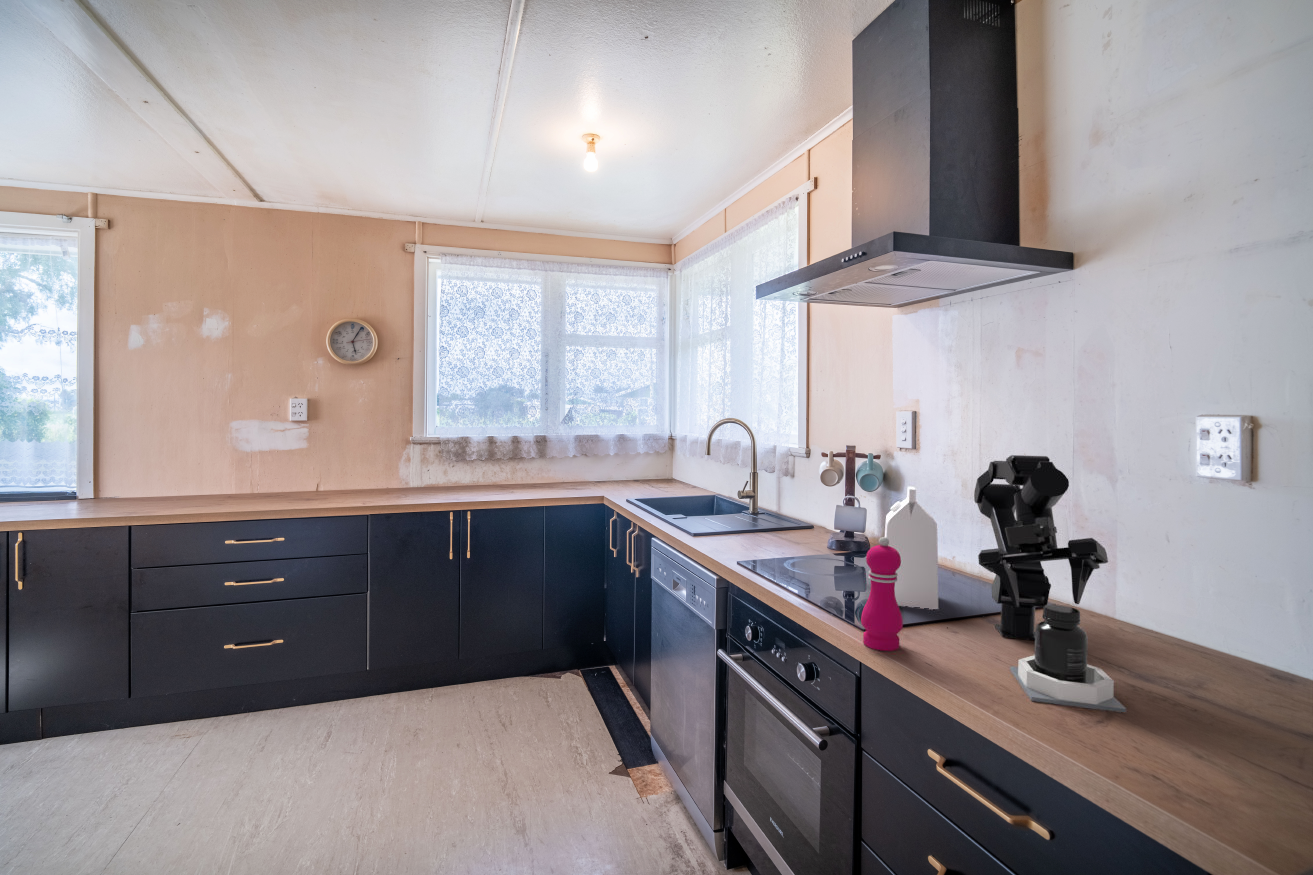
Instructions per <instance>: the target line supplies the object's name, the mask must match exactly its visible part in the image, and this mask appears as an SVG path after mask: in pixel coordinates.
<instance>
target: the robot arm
mask: <svg viewBox="0 0 1313 875" xmlns="http://www.w3.org/2000/svg"><path fill="white" fill-rule="evenodd" d="M994 480H1005V482H1006V483H993V482H994ZM1007 483H1008V484H1007ZM1021 486H1022V488H1021ZM974 487H975V488H974V492H973V500H974V502H975V504H977V507H978V510H979V512H980V514H982V515H984V516H985V517H986V518H988V519H990V522H991V527H992V531H993V533H994V538H995V541H996V545H997V548H996V547H995V548H989V549H981V550H980V552H979V554H978V565H979V566H981V567H982V568H984V569H986V570H987V571H989V572H990V573H994V574H995V576H994V579H993V582H992V585H991V588H990V589H991V598H992V599H993V601H994V602H996V604H998V605H1000V604H1001V607H1000V608H1001V609H1000V624H999V623H996V624H994V627H995V629H996V630H997V631H998V632H999V634H1000V635H1001V636H1002V637H1003V638H1011V639H1020V640H1021V639H1022V640H1029V641H1030V640H1033V641H1035V627H1036V626H1035V624H1036V620H1035V619H1036V607H1037V608H1043V606H1045V605H1048V602H1049V597H1050V591H1051V588H1052V584H1051V583H1050V580H1049V578H1048V575H1046V574H1045V569H1044V567H1043V566H1042V562H1049V561H1060V560H1068V563H1069V567H1070V570H1071V571H1070V572H1071V574H1070V575H1071V591H1072V598H1073V602H1074V604H1076V605H1080V603H1081V600H1082V596H1083V595H1084V592H1085V588H1086V586H1087V583H1088V581H1089V579H1090V577H1091V576H1092V573H1093V572H1094V570H1099V569H1100V565H1103V564H1107V563H1109V560H1108V555H1107V551H1106V549H1105V547H1104V546H1103V545H1102V544H1101V543H1099V541H1097V540H1096V539H1094V538H1093V537H1087V538H1080V539H1079V538H1077V539H1071V540H1070V539H1069V540H1068V543H1067V547H1058V542H1057V533H1058V530H1057V526H1055V520H1054V516H1053V507H1054V506H1056V505H1057V504H1058V502H1059V501H1060V500H1061V499H1062V497H1063V496H1064V494H1065V493H1066V492H1067V491H1068V489H1069V487H1070V481H1069V478H1068V477H1067V475H1066V474H1064V472H1063V471H1061V470H1060V469H1058V468H1057V467H1056V466H1055V464H1054V463H1053V461H1051V459H1050V458H1049V457H1048V456H1046V455H1021V454H1020V455H1017V454H1016V455H1015V454H1014V455H1013V454H1011V455H1009V456H1008V457H1006V458H1005V460H994V461H990V462H989V465H988V469H987V470H985V471H984V472H983V473H982V474H981V475H980V476H979V477H977V479H976V483H975V486H974Z"/></svg>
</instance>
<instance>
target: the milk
mask: <svg viewBox="0 0 1313 875" xmlns="http://www.w3.org/2000/svg"><path fill="white" fill-rule="evenodd" d="M916 497H917V489H916V488H915V487H914V486H907V492H906V498H905V499H904V500H902V501H900V500H898V501H896V502H895V503H894V504H893V505H892V506H891V507H890V511H889V512H887V514H886V515H885V527H884V537H886V538H887V539H888V540H889V544H888V546H890V547H893V548H894V549H896V550H897V551H898V553H899V554H900V557H901V565H900V567H899V568H898V569H897V570H896V573H897V574H898V576H897V581H896V582H895V588H894V589H895V598H896V602H897V604H898V607H905V606H908V607H907V608H914V607H920V608H919V609H924V608H929V609H928V610H933V609H938V610H939V572H938V571H939V566H938V562H939V561H938V560H939V558H938V557H939V556H938V549H939V548H938V524H937V521H935V519H934V517H932V516H931V515H930V513H928V512H927V511H926V509H925V508H923V506H922V505H921V504H919V503H918V501H917V500H916V499H917V498H916Z"/></svg>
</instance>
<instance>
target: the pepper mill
mask: <svg viewBox="0 0 1313 875" xmlns="http://www.w3.org/2000/svg"><path fill="white" fill-rule="evenodd" d="M878 543H879V544H878V545H873V546H872V547H870V549H869V550H868V551H867V552H866V558H865V562H866V565H867V566H868V567H869V569H870V570H868V576H867V577H868V580H870V592H869V594H868V595H869V596H868V598H867V600H866V603H865V605H864V606H863V609H862V612H861V617H860V623H861V626H862V627H863V628H864V629H865V631H864V632H863V634H862V635H863V639H862V641H863V642H862V643H863V644H864V645H865V646H866V647H867V648H869V649H872V650H876V651H883V652H891V651H895V650H898V649H900V637H899V636H898V634H899V633H900V632H901V631H902V629H903V627H904V625H903V624H904V622H903V614H902V612H901V609H900V606H898V604H897V602H896V598H895V589H894V588H895V582H896V581H897V576H898V574H897V573H896V570H897V569H898V568H899V567H900V565H901V557H900V554H899V553H898V551H897V550H896V549H894V548H893V547H890V546H888V544H889V540H888V539H887V538H886V537H885V536H882V537H880V538H879V539H878Z"/></svg>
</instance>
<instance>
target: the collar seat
mask: <svg viewBox="0 0 1313 875" xmlns="http://www.w3.org/2000/svg"><path fill="white" fill-rule="evenodd" d="M1009 671H1010V672H1011V673H1012V675H1013V676H1014V678H1015V679H1016V681H1017V682H1018V684H1019V685H1020V687H1021V688H1022V689H1023V691H1024V692H1025V694H1026V696H1027V697H1028V698H1029V700H1030V701H1031V702H1037V703H1044V704H1052V703H1053V704H1052V705H1054V704H1055V705H1060V706H1068V707H1075V708H1076V707H1077V708H1085V709H1093V710H1098V709H1099V710H1100V711H1106V710H1109V711H1108V712H1113V711H1117V712H1116V713H1121V712H1126V713H1127V708H1126V707H1125V705H1123V704H1122V703H1121V702H1120V701H1119V700H1118V699H1117V698H1116V697H1115V696H1114V687H1115V686H1114V685H1115V681H1114V680H1113V679H1112V678H1111V677H1110V676H1109V675H1108V674H1107V673H1106V672H1105V671H1104V670H1102V669H1101V668H1100V667H1096V666H1093V665H1090V664H1087V684H1085V683H1077V682H1069V681H1060V680H1058V679H1055V678H1052V677H1049V676H1047V675H1044V674H1041V673H1038V672H1036V671H1035V654H1033V655H1030V656H1027V657H1023V658H1020V659H1018V663H1017V666H1012V665H1011V666H1009ZM1118 711H1119V712H1118Z"/></svg>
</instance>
